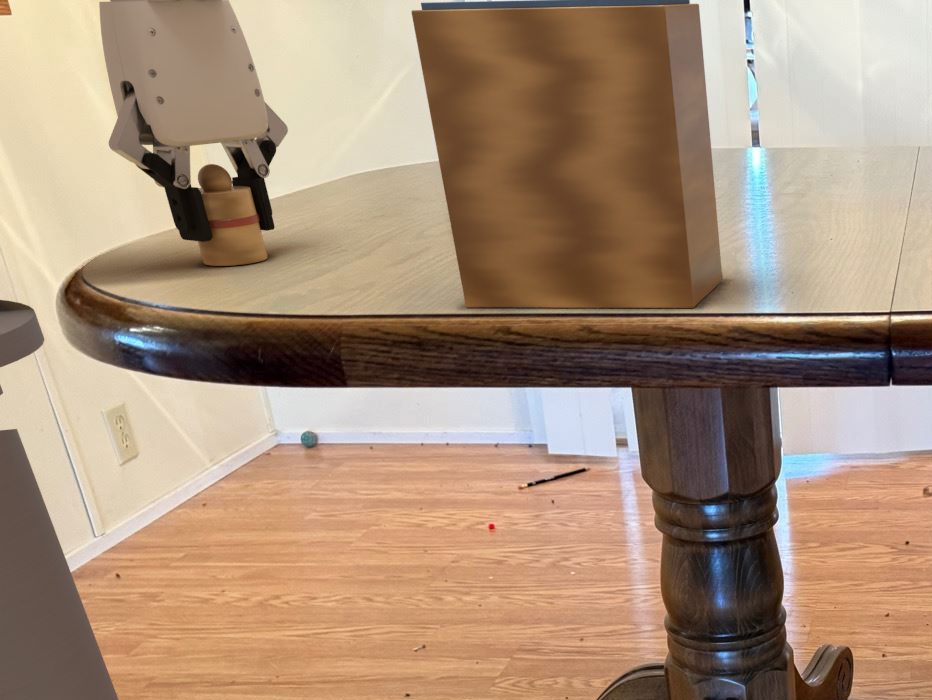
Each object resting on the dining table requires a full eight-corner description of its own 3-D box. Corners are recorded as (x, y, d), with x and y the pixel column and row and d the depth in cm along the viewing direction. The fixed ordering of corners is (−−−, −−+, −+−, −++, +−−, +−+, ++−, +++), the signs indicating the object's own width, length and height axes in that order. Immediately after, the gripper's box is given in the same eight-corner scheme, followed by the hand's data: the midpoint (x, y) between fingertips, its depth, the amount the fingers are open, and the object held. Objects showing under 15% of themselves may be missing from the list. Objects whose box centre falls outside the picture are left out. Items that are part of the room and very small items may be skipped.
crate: (465, 307, 85) (410, 10, 76) (513, 280, 93) (468, 8, 84) (693, 308, 83) (664, 5, 75) (722, 280, 91) (699, 3, 82)
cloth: (421, 10, 77) (420, 2, 76) (472, 8, 83) (471, 1, 83) (658, 5, 75) (657, -3, 75) (690, 3, 82) (689, -3, 82)
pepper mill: (197, 268, 99) (169, 169, 96) (208, 257, 103) (182, 162, 100) (264, 263, 100) (239, 166, 97) (273, 253, 105) (249, 159, 101)
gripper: (230, -20, 100) (287, 216, 109) (15, -20, 87) (100, 248, 96) (292, -22, 97) (346, 222, 106) (79, -23, 84) (160, 255, 93)
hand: (228, 232), depth 101 cm, fingers closed on pepper mill, 5 cm apart
